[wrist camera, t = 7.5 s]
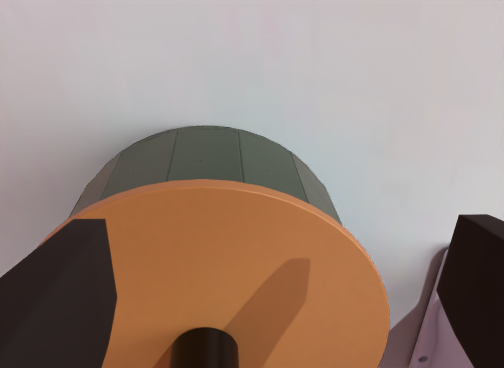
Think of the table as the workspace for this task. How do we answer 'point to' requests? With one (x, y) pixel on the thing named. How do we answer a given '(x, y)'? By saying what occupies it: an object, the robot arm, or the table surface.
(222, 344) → the lid
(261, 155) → the tin
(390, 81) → the table surface
